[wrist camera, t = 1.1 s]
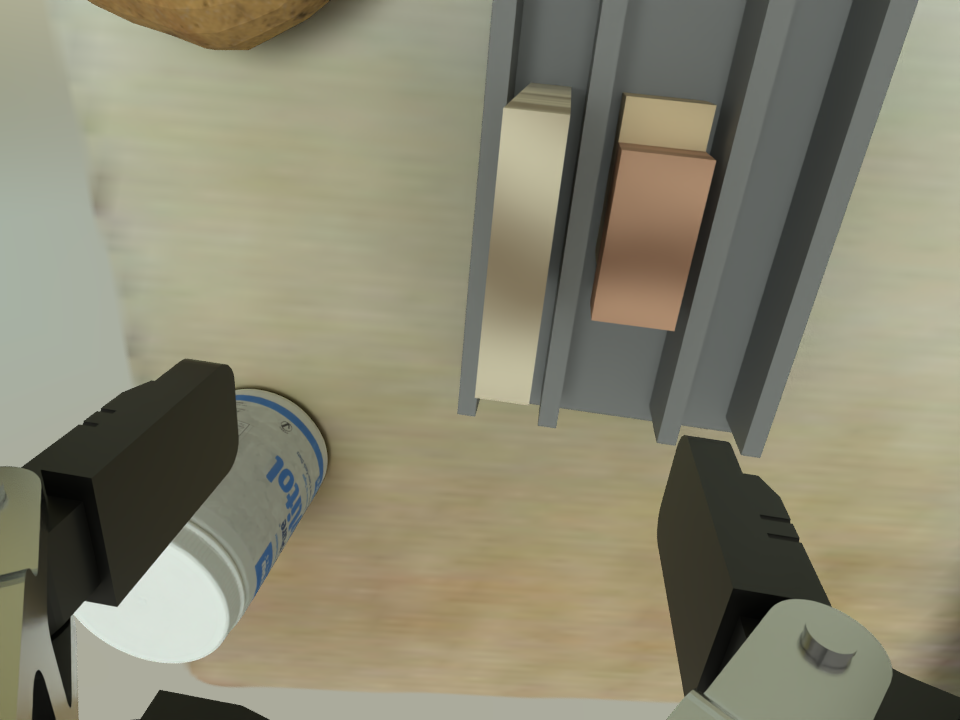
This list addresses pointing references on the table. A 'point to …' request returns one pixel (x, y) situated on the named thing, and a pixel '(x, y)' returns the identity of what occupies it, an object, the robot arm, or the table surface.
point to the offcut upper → (649, 234)
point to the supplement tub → (222, 540)
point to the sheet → (521, 239)
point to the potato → (216, 19)
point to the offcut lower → (659, 129)
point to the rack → (730, 203)
